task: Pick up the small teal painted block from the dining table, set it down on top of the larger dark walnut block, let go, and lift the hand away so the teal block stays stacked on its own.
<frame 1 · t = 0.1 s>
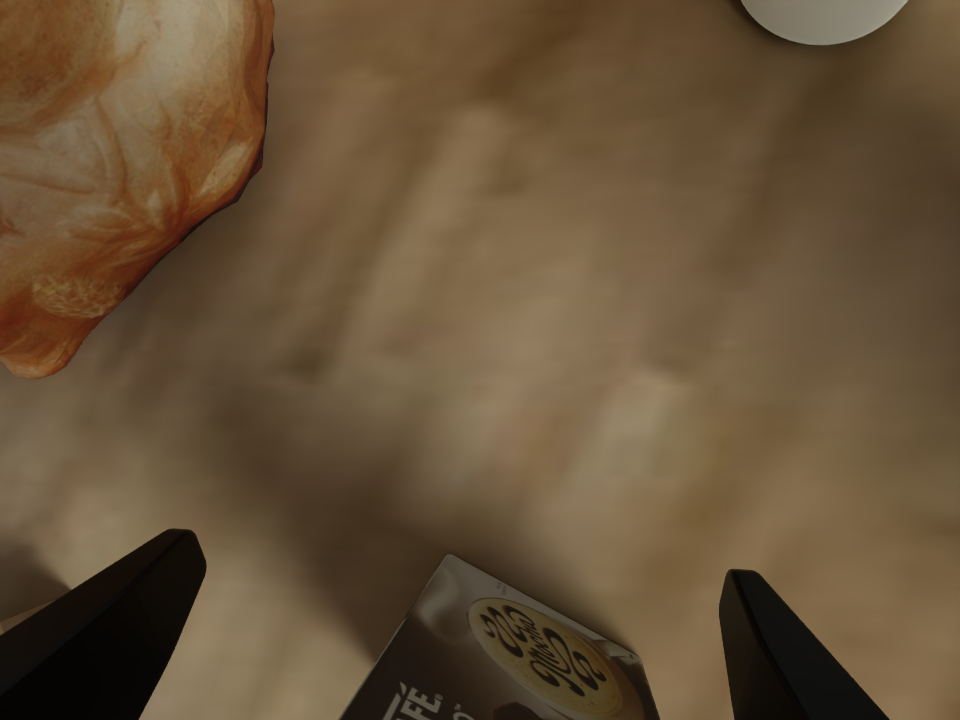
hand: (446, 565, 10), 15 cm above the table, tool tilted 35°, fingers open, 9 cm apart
coffee box: (512, 669, 24), on the table
ceramic vessel: (86, 191, 28), on the table
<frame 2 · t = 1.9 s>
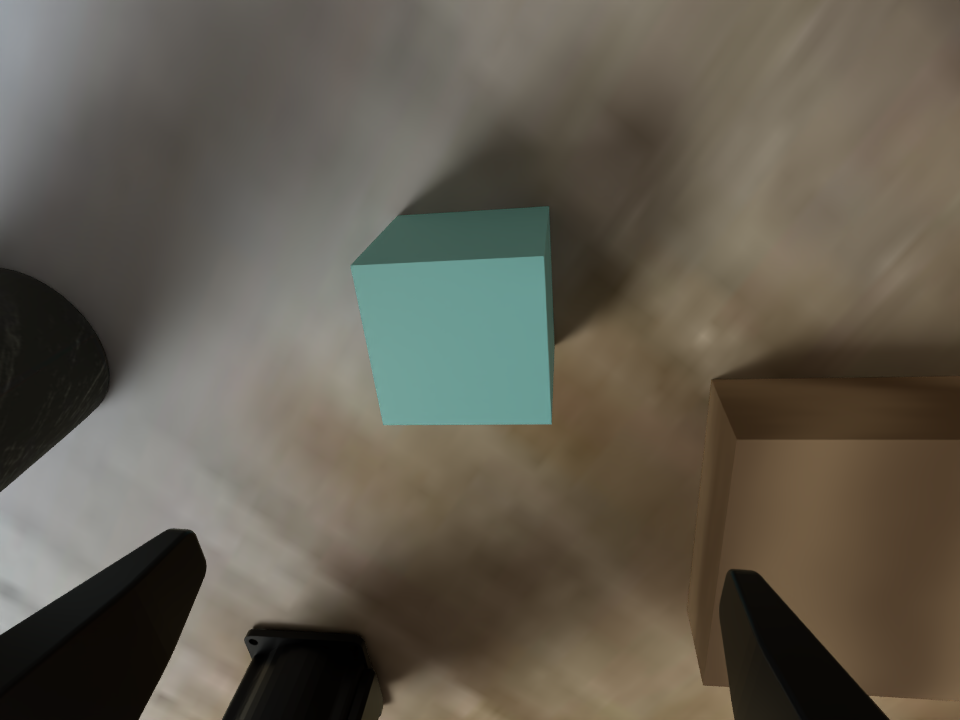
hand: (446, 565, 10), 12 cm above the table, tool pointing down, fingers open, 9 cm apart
walnut block: (855, 503, 23), on the table
travel mug: (31, 345, 24), on the table
teal block: (479, 282, 20), on the table
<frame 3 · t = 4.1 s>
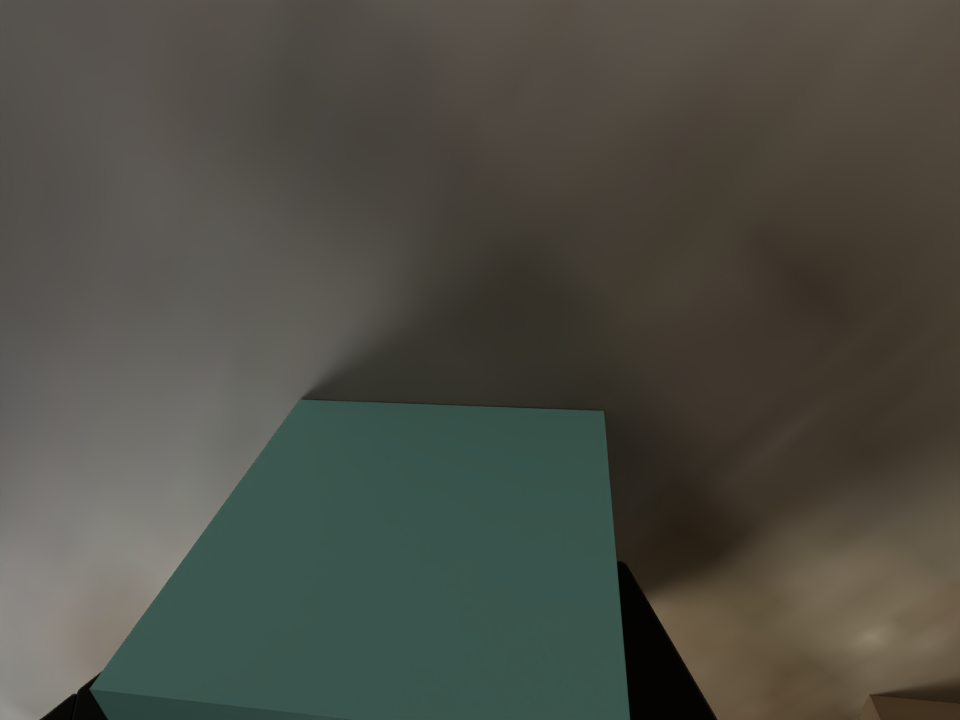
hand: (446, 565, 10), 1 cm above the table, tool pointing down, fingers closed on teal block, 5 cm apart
teal block: (456, 519, 11), on the table, touching gripper
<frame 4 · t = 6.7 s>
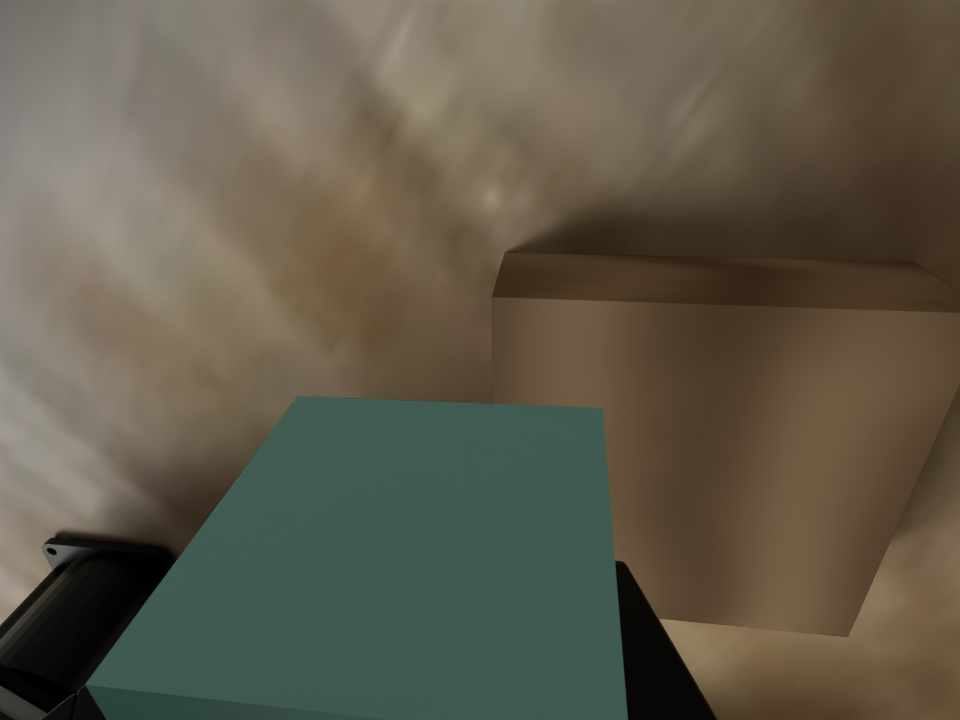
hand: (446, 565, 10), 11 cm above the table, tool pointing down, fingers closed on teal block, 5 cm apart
walnut block: (671, 413, 21), on the table
teal block: (454, 516, 11), point 10 cm above the table, touching gripper
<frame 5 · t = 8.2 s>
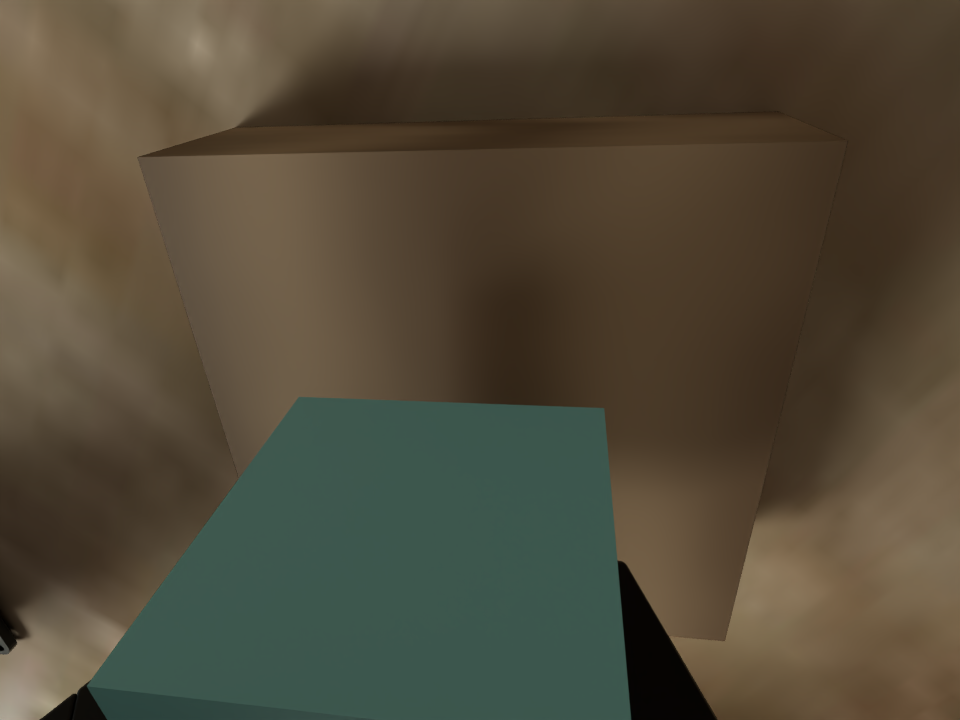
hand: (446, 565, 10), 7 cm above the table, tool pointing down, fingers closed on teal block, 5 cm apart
walnut block: (498, 351, 16), on the table
teal block: (456, 517, 11), point 6 cm above the table, touching gripper
when the fingers open (6 cm above the table, at t = 9.2 s): teal block drops 1 cm, resting on walnut block.
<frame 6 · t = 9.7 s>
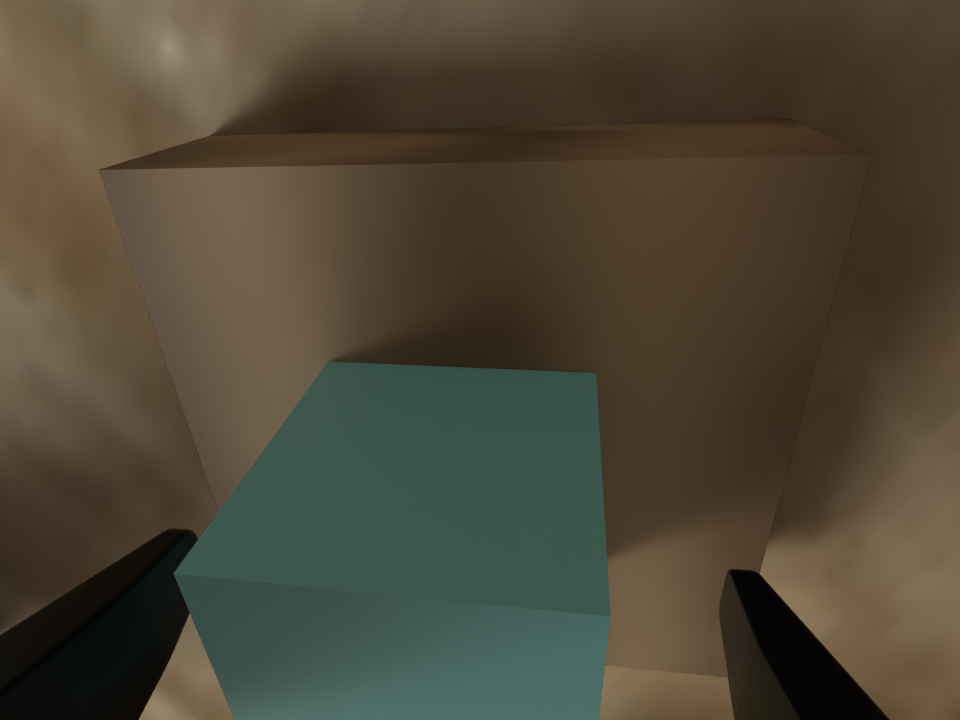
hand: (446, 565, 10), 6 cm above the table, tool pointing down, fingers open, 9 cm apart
walnut block: (493, 369, 15), on the table, touching teal block
teal block: (464, 472, 12), point 3 cm above the table, touching walnut block
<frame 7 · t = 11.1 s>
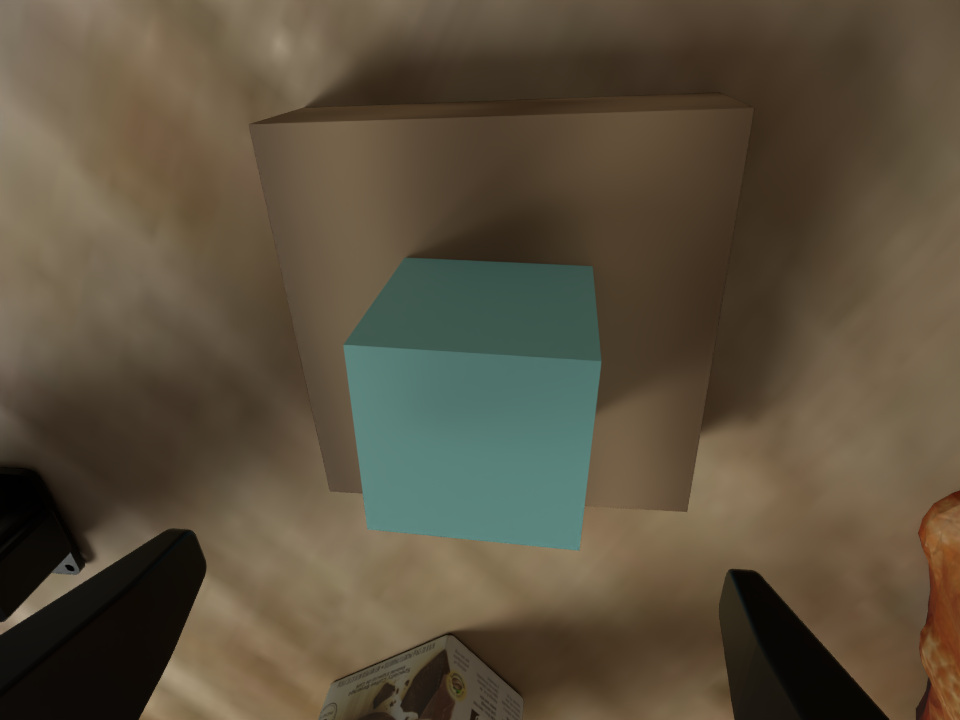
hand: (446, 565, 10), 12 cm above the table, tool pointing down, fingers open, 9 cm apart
coffee box: (424, 685, 32), on the table
walnut block: (507, 288, 20), on the table
teal block: (495, 344, 17), point 4 cm above the table
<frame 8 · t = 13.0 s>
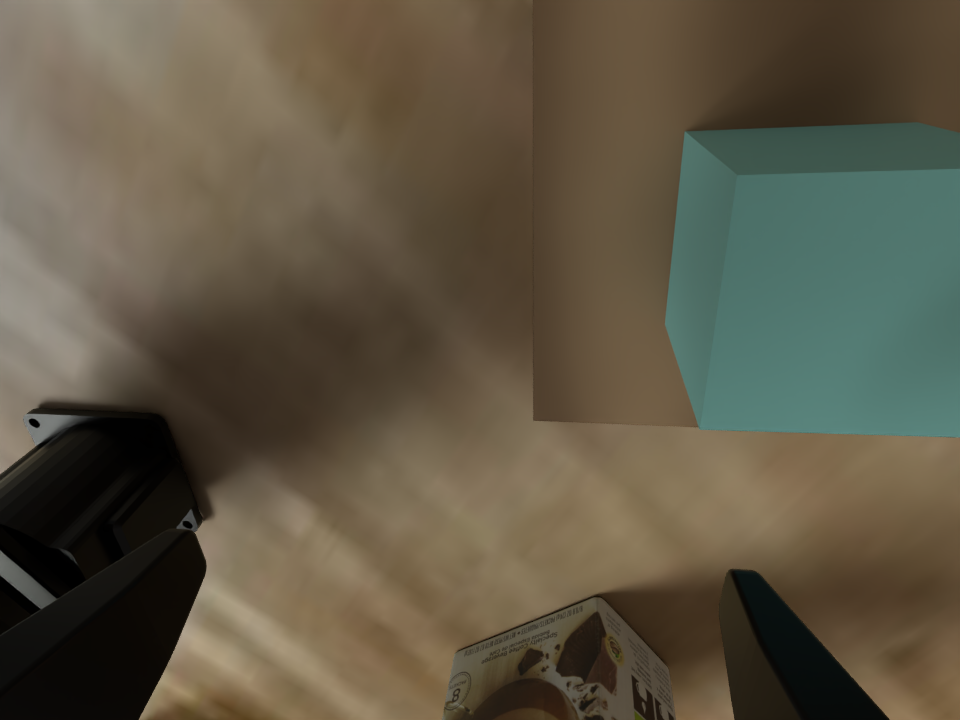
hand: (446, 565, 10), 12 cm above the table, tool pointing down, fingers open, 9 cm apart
coffee box: (557, 654, 30), on the table
walnut block: (735, 193, 18), on the table
teal block: (777, 233, 15), point 4 cm above the table
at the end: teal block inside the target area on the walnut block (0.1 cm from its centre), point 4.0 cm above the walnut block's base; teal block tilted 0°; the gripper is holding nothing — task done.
